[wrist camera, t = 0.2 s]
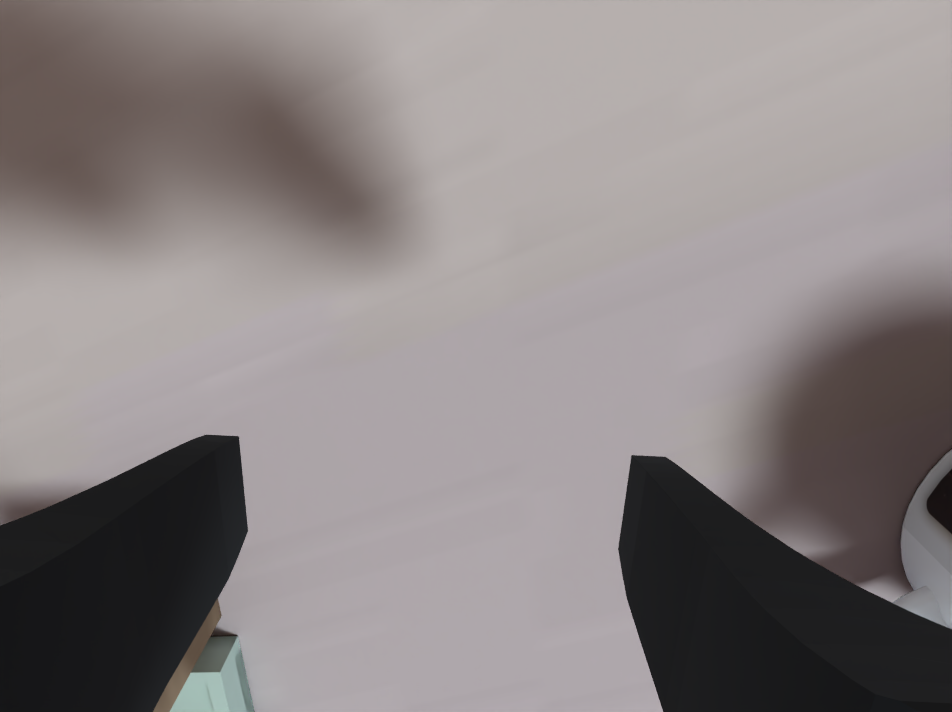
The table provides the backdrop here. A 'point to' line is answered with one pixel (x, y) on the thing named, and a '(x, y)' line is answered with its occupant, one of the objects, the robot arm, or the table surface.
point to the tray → (217, 680)
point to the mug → (930, 546)
